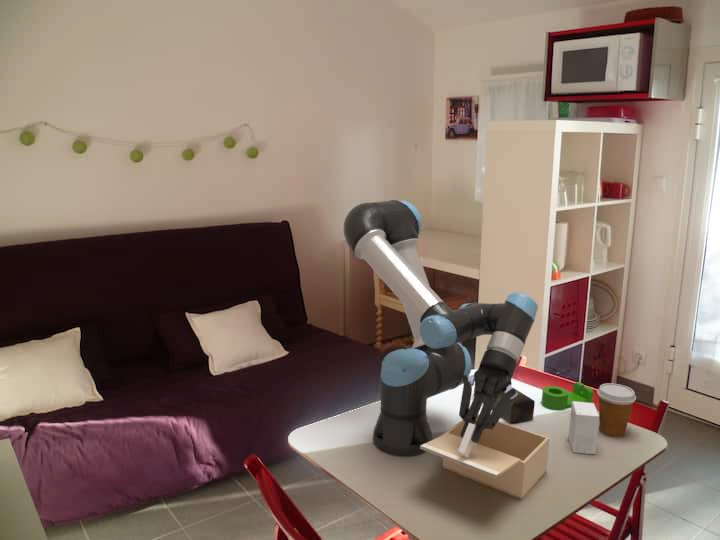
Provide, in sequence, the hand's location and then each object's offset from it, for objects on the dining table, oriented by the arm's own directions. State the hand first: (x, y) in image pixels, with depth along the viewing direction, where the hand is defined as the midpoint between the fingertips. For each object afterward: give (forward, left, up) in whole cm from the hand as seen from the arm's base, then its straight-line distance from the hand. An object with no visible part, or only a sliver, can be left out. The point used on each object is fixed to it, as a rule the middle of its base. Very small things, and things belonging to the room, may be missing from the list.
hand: (462, 454), depth 126 cm
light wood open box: (+5, +17, -12) cm, 22 cm away
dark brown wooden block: (+4, +51, -13) cm, 53 cm away
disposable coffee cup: (+33, +47, -13) cm, 59 cm away
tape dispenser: (+21, +61, -13) cm, 66 cm away
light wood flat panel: (+3, +10, -3) cm, 11 cm away
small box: (+25, +36, -13) cm, 46 cm away
